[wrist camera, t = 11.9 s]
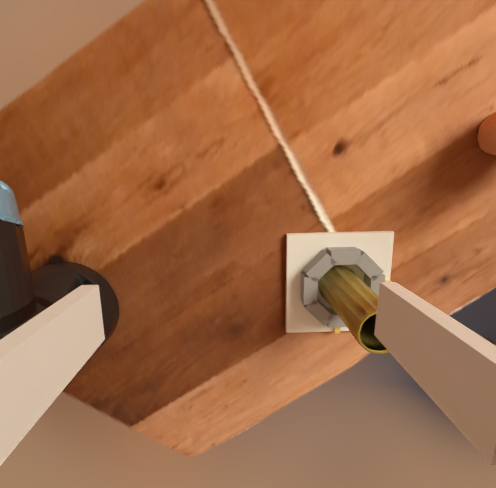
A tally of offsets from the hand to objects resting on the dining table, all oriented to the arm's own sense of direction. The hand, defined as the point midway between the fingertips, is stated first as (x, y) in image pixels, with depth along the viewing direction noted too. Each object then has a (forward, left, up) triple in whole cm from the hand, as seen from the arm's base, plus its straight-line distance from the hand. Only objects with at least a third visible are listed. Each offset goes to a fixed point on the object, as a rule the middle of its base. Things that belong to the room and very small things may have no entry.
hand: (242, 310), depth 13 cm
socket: (+15, -10, -30) cm, 35 cm away
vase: (+15, -10, -29) cm, 34 cm away
